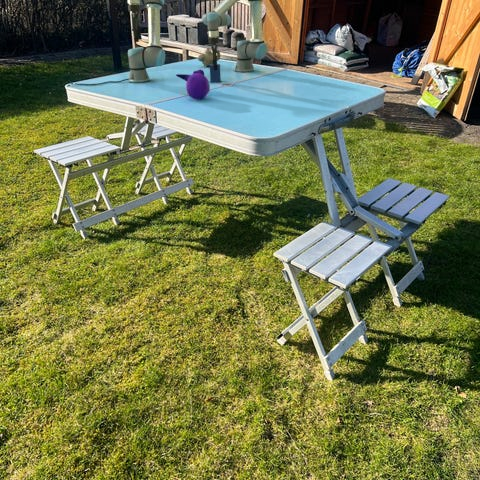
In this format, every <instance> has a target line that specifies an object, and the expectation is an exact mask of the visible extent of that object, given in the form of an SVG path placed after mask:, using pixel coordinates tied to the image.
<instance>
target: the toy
mask: <svg viewBox="0 0 480 480" xmlns="http://www.w3.org/2000/svg"><path fill="white" fill-rule="evenodd" d="M175 76H176V77H177V78H179V79H182V80H183V81H185V82H186V84H185V89H186V93H187V95H188V96H189V97H190V98H191V99H194V100H203V99H205V98H206V96H208V94H209V92H210V89H211V86H210V85H211V84H210V80H209V79H208V78H207V76H206V75H205V71H204V70H203V69H197V70H194V71H193V72H192V74H181V73H179V74H175Z"/></svg>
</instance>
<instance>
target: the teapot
mask: <svg viewBox="0 0 480 480" xmlns="http://www.w3.org/2000/svg"><path fill="white" fill-rule="evenodd" d="M204 52H205V53H200V54H199V55H198V56H197V60H198V61H199V62H201V64H202V65H203V66H204V67H206V68H208V67H209V68H210V64H213V61H212V60H213V52H212V49H210V47H206V50H205V51H204ZM216 56H217V62H218V61H219V60H220V59H221V51H220V50H219V49H218V48H217V52H216Z"/></svg>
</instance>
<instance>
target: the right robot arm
mask: <svg viewBox="0 0 480 480" xmlns="http://www.w3.org/2000/svg"><path fill="white" fill-rule="evenodd" d="M240 1H241V0H221V1H220V2H219V3H218V4H217V5H216V6H215V7H214V8H213V9H212V10H211V11H210V12H207V13H204V14H203V15H202V17H201V21H202V23H203V24H204V25H205V26H207V32H206V34H207V36H208V38H207V39H208V44H211V53H212V52H213V60H212V61H213V66H214V71H215V70H217V64H218V61H217V53H216V52H217V49H218V45H217V44H219V43H220V37H219V36H220V30H219V28H221V27H227V26H230V25H231V22H232V17H231V16H230V14H228V13H227V12H228V11H229V10H230V9H231V8H232V7H233V6H234V5H235V4H236V3H237V2H240ZM247 2H248V3H249V15H250V16H249V17H250V18H249V19H250V36H251V37H250V39H243V40H238V41H237V42H236V64H235V66H234V72H237V73H250V72H254V71H255V68H254V65H253V61H252V59H256V60H262V59H264V58H265V57H266V55H267V54H268V49H269V48H268V45H267V43H266V42H265V38H263V15H262V12H263V11H262V8H263V7H262V3H263V2H264V0H247Z"/></svg>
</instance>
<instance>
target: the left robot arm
mask: <svg viewBox="0 0 480 480" xmlns="http://www.w3.org/2000/svg"><path fill="white" fill-rule="evenodd" d="M126 1H127V10H128V12H131V14H130V15H131V28H132V29H131V31H132V33H133V41H134V43H140V40H141V41H142V40H143V39H142V30H141V29H142V26H141V20H140V15H139V12H140V11H141V6H145V8H146V9H147V31H148V32H147V34H148V36H147V37H148V39H147V41H148V44H147V45H146V48H144V47H143V46H139V47H134V48H130V49H128V50H127V57H128V66H129V76H128V78H124V79H122V80H108V81H104V82H99V83H76V82H71V83H70V84H72V85H75V86H76V85H77V86H98V85H99V86H100V85H103V84H108V83H109V84H110V83H122V82H125V81H128V82H129V83H133V84H141V83H148V82H150V76H149V74H148V71H147V67H163V65H165V61H166V51H165V49H164V48H163V46H162V44H161V11H160V10H162V8H163V5H165V0H126ZM73 83H75V84H73ZM70 86H71V85H69V84H67V87H70Z"/></svg>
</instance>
